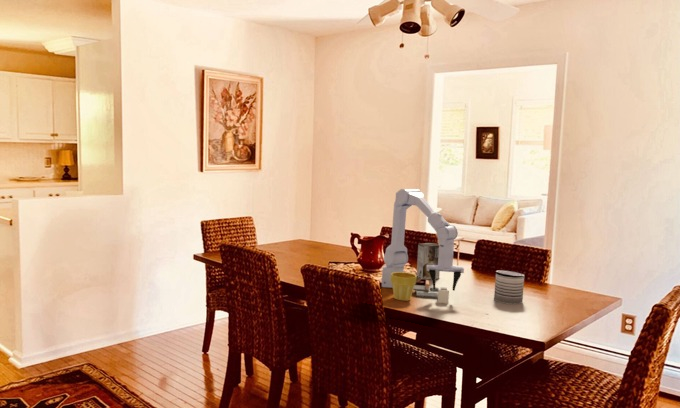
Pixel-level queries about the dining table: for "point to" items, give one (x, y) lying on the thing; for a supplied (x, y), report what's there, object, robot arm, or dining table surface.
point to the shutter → (422, 287)
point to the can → (509, 287)
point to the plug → (443, 295)
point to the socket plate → (428, 293)
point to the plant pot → (403, 285)
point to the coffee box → (427, 259)
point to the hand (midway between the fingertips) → (443, 289)
